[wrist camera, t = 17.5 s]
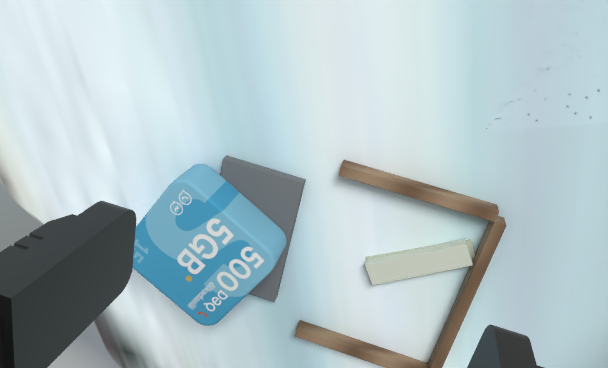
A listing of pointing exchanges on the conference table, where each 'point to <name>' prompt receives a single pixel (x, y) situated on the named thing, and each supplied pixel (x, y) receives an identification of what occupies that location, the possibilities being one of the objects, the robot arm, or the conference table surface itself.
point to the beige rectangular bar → (419, 261)
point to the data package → (205, 245)
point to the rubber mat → (267, 207)
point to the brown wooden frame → (400, 364)
